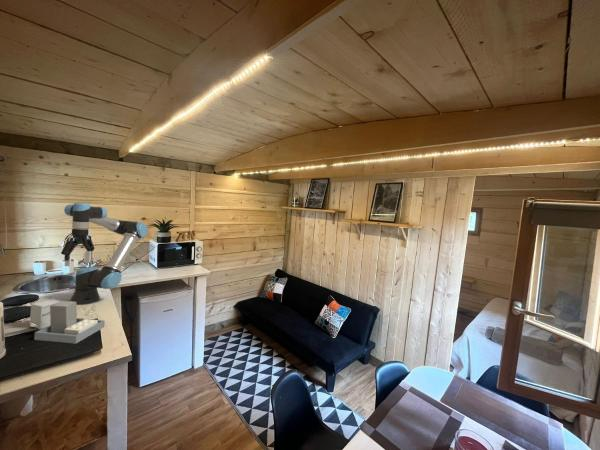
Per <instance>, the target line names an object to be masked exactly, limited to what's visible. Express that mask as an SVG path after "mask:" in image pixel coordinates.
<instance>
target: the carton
mask: <svg viewBox="0 0 600 450" xmlns="http://www.w3.org/2000/svg"><path fill="white" fill-rule="evenodd" d="M83 319H84V320H82V321H80V322H78V323H76V324H74V325H72V326H70V327H68V328H66V329H65V330H64V334H70V335H77V334H79V333H81V332H83V331H84V330H86V329H88V328H90V327H92V326H94V325H95V324H97V323H98V320H99V319H94V320H89V319H90V318H83Z"/></svg>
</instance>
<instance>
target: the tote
mask: <svg viewBox="0 0 600 450" xmlns="http://www.w3.org/2000/svg"><path fill="white" fill-rule="evenodd" d="M84 319H85V318H82V317H81V318H80V317H77V323H78V322H80V321H82V320H84ZM88 319H89V320H95V318H94V319H92V318H91V319H90V318H88ZM97 320H98V323H97V324H95V325H94V326H92V327H90V328H88V329H86V330H84V331H83V332H81V333H79V334H77V335H70V334H59V333H51V325H50V326H48V327H45V328H42V329H38V330H37V331H35V332H34V337H33V339H34V341H41V342H52V343H53V342H54V343H62V344H63V343H65V344H74V345H76V344H78V343H80V342H81V341H84V339H86V338H88V337H89V336H92V335H93V334H94V333H97V332H98V331H101V330H102V329H103V328H105V320H104V319H97Z"/></svg>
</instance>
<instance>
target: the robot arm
mask: <svg viewBox="0 0 600 450" xmlns="http://www.w3.org/2000/svg"><path fill="white" fill-rule="evenodd" d="M63 210H64V211H63V212H64V214H65V215H66V216H69V217H72V224H71V225H72V226H71V228H72V229H71V236H72V237H67V239H66V241H65V244H64V246H63V248H62V250H61V252H60V254H61V255H64V258H63V259H64V267H71V264H72V254H71V253H73V251H74V250H75V249H76V247H77V246H79V245H82V246H83V247H84V249H85V254H84V257H85V258H84V262H85V263H87V262H89V263H91V258H92V257H91V256H92V252H94V250H95V245H94V243H93V241H92V235H89V228H90V223H92V224H95V225H98V226H101V227H103V228H105V229H107V230H108V231H110V232H113V233H115V234H117V235H122V236H123V238H122V240H121V241H120V243H119V245H117V248H116V249H115V251H114V252H113V254H112V256H111V257H110V259H109V260H108V263H106V265H102V267H101V269H99V267H98V266H90V267H89V266H88V267H82V268H78V269H76V272H75V281H74V282H75V283H74V284H75V285H74V292H73V294H72V296H71V298H70V302H76V305H88V304H92V303H93V302H94V303H96V302H99V301H100V294H99V291H98V289H104V290H111V289H115V288H116V287H118V286H119V284H120V283H121V282H122V274H121V273H122V271H121V269H122V267H123V265H124V264H125V262H126V260H127V258H128V257H129V255H130V253H131V251H132V250H133V248H134V246H135V245H136V243H137V242H139V241H140V240H141V239H142V238H143V239H144V238H146V237H147V236H148V231H149V229H148V226H147V224H146V223H144V222H141V221H131V220H122V219H121V220H120V219H117V218H111V217H109V216H108V210H107V209H106V208H105V207H101V206H93V205H92V206H91V204H90V203H87V202H86V203H85V202H74V203H73V204H70V203H69V204H67V205H66V206H65V207H64V209H63Z"/></svg>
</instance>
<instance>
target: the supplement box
mask: <svg viewBox="0 0 600 450" xmlns="http://www.w3.org/2000/svg"><path fill="white" fill-rule="evenodd" d="M55 303H58V302H57V301H53V300H43V301H39V302H36V303H32V304H31V305H30V316H29V323H30V322H31V323H34V324H36V325H37V327H38V329H37V330H41V329H44V328H46V327H48V326H50V325H51V324H50V306H51V305H53V304H55Z"/></svg>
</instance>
